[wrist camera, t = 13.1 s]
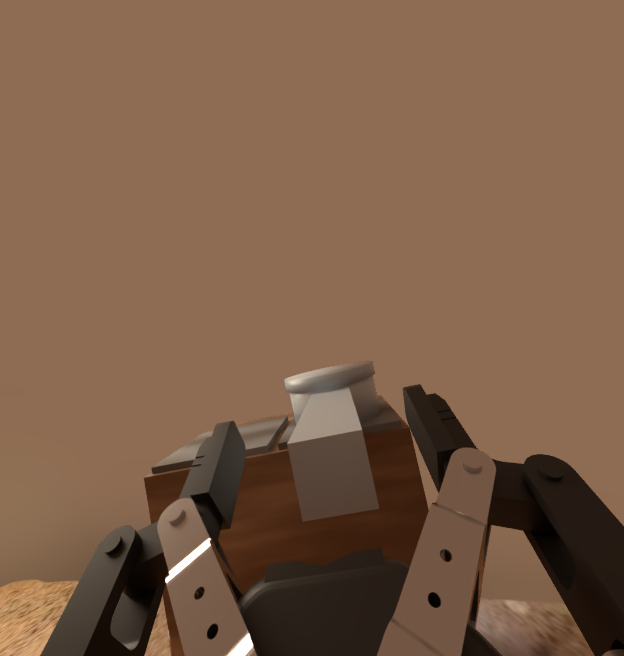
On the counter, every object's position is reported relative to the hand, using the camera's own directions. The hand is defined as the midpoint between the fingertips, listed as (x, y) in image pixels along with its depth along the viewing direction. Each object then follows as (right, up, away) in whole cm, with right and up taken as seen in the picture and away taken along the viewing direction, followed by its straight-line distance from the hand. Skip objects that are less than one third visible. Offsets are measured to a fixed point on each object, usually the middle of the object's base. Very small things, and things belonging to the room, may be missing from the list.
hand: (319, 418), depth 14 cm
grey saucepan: (+2, -5, +11) cm, 12 cm away
